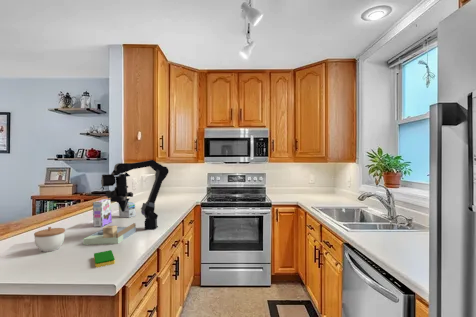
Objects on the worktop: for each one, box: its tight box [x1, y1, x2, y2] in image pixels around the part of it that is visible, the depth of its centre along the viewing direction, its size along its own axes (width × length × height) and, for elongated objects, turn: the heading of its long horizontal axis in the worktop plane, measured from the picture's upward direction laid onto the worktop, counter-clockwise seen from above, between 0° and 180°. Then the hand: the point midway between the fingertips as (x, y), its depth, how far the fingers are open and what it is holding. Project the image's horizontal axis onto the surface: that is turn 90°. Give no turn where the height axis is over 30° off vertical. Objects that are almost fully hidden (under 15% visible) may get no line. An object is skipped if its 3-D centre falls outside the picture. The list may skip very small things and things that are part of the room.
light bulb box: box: [118, 201, 137, 219], centre depth 216 cm, size 11×7×11 cm, turn 65°
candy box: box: [92, 198, 113, 228], centre depth 191 cm, size 14×6×16 cm, turn 179°
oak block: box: [102, 225, 118, 238], centre depth 148 cm, size 5×5×5 cm
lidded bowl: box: [33, 226, 66, 253], centre depth 140 cm, size 13×13×11 cm
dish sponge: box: [93, 250, 116, 268], centre depth 121 cm, size 7×14×2 cm, turn 29°
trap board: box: [83, 222, 137, 246], centre depth 157 cm, size 18×23×5 cm
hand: (123, 211), depth 165 cm, fingers closed
